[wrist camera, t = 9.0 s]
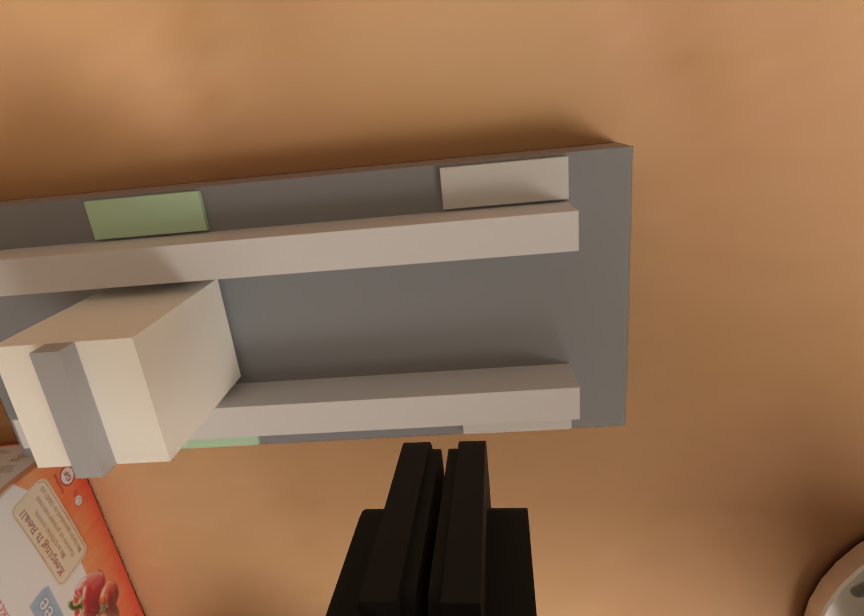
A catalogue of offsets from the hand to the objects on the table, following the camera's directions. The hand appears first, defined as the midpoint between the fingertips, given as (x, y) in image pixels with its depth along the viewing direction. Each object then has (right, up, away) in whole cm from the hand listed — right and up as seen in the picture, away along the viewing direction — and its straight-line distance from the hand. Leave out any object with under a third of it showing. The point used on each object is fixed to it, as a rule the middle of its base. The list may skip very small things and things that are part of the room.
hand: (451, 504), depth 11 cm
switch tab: (-10, +3, +9) cm, 13 cm away
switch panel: (-6, +4, +10) cm, 13 cm away
